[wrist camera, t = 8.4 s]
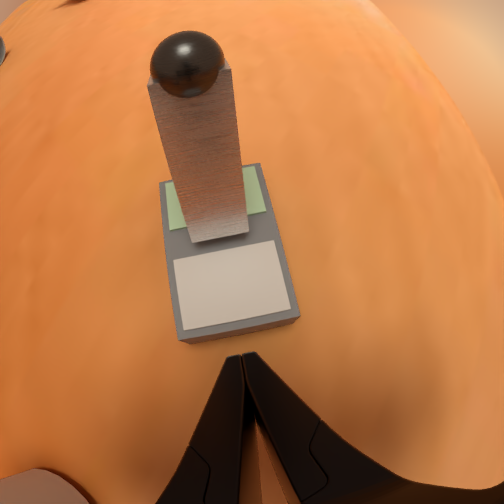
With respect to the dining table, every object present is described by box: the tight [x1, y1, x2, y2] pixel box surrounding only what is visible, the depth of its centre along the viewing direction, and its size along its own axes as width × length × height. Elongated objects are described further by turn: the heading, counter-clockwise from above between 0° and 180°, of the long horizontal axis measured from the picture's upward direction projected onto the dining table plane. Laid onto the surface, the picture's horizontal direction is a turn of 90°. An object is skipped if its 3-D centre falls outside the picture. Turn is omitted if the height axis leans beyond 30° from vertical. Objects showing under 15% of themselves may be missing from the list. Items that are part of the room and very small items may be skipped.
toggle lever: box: [147, 31, 249, 243], centre depth 12 cm, size 3×3×10 cm
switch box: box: [159, 163, 300, 344], centre depth 17 cm, size 9×6×3 cm, turn 12°
